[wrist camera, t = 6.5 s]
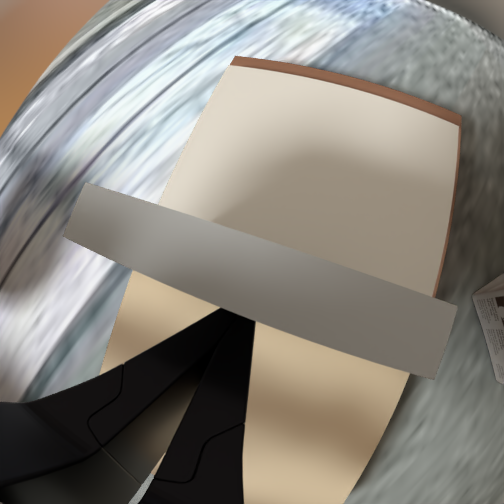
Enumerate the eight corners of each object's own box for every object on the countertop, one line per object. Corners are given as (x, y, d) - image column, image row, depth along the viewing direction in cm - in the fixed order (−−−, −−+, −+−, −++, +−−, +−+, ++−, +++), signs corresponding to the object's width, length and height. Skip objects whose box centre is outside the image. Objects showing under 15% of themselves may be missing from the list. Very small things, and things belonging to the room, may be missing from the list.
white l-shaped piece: (405, 364, 12) (498, 408, 4) (140, 265, 15) (22, 224, 7) (454, 131, 13) (513, 35, 6) (230, 71, 16) (191, -32, 9)
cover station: (319, 509, 14) (319, 536, 11) (113, 419, 17) (85, 431, 14) (445, 140, 17) (461, 115, 14) (244, 84, 20) (235, 56, 17)
